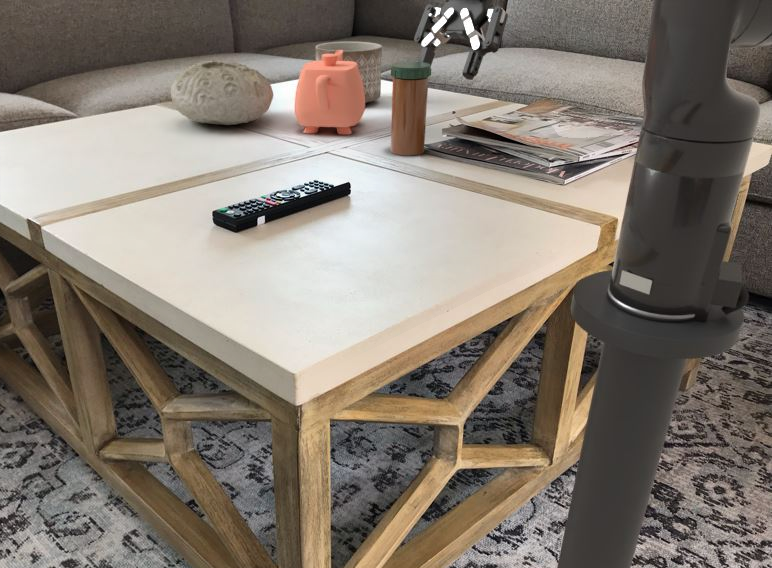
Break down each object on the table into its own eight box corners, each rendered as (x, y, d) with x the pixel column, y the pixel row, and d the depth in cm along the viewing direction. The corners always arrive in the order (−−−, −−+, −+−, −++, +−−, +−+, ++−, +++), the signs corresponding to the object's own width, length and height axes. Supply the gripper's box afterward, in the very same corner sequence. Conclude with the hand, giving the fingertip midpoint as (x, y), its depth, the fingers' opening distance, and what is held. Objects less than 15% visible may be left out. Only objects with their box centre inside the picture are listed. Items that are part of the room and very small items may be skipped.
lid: (435, 73, 109) (436, 62, 109) (423, 80, 105) (424, 69, 104) (398, 70, 111) (398, 60, 111) (385, 77, 107) (385, 66, 106)
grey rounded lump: (284, 112, 137) (282, 56, 132) (260, 136, 122) (256, 73, 117) (193, 110, 140) (188, 54, 136) (158, 133, 125) (151, 71, 120)
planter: (380, 95, 150) (381, 41, 145) (380, 109, 139) (381, 50, 134) (318, 95, 151) (317, 41, 146) (313, 108, 140) (312, 51, 135)
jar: (428, 148, 115) (433, 66, 109) (418, 157, 111) (422, 72, 105) (396, 145, 117) (400, 64, 111) (385, 153, 112) (388, 70, 106)
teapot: (357, 142, 118) (358, 64, 112) (285, 140, 120) (282, 62, 114) (371, 115, 135) (372, 45, 129) (307, 113, 137) (306, 44, 131)
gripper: (428, -42, 113) (394, 63, 115) (508, -44, 104) (471, 69, 106) (453, -18, 119) (420, 81, 120) (531, -19, 110) (495, 89, 111)
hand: (444, 75), depth 113 cm, fingers open, 8 cm apart
